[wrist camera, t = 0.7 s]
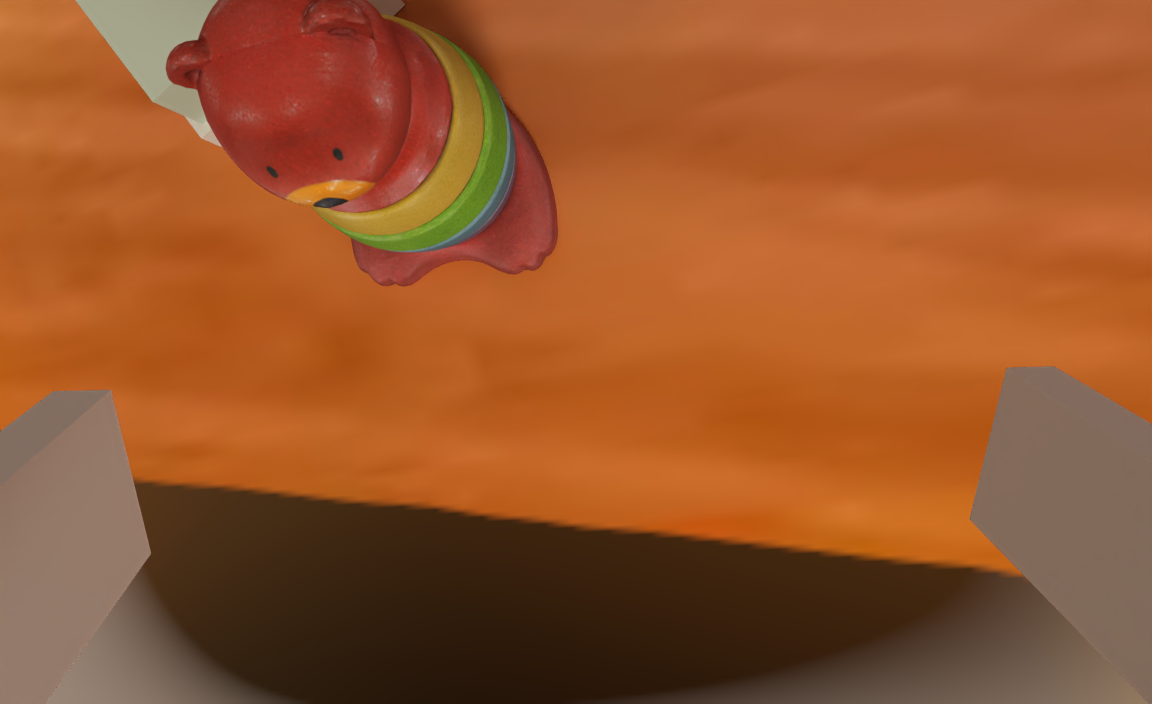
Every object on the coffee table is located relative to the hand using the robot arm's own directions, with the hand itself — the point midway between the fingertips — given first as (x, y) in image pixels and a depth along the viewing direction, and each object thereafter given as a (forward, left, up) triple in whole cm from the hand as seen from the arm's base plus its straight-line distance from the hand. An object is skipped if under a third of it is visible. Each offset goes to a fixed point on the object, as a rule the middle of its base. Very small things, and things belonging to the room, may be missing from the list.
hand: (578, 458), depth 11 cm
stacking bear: (+2, -15, -27) cm, 31 cm away
